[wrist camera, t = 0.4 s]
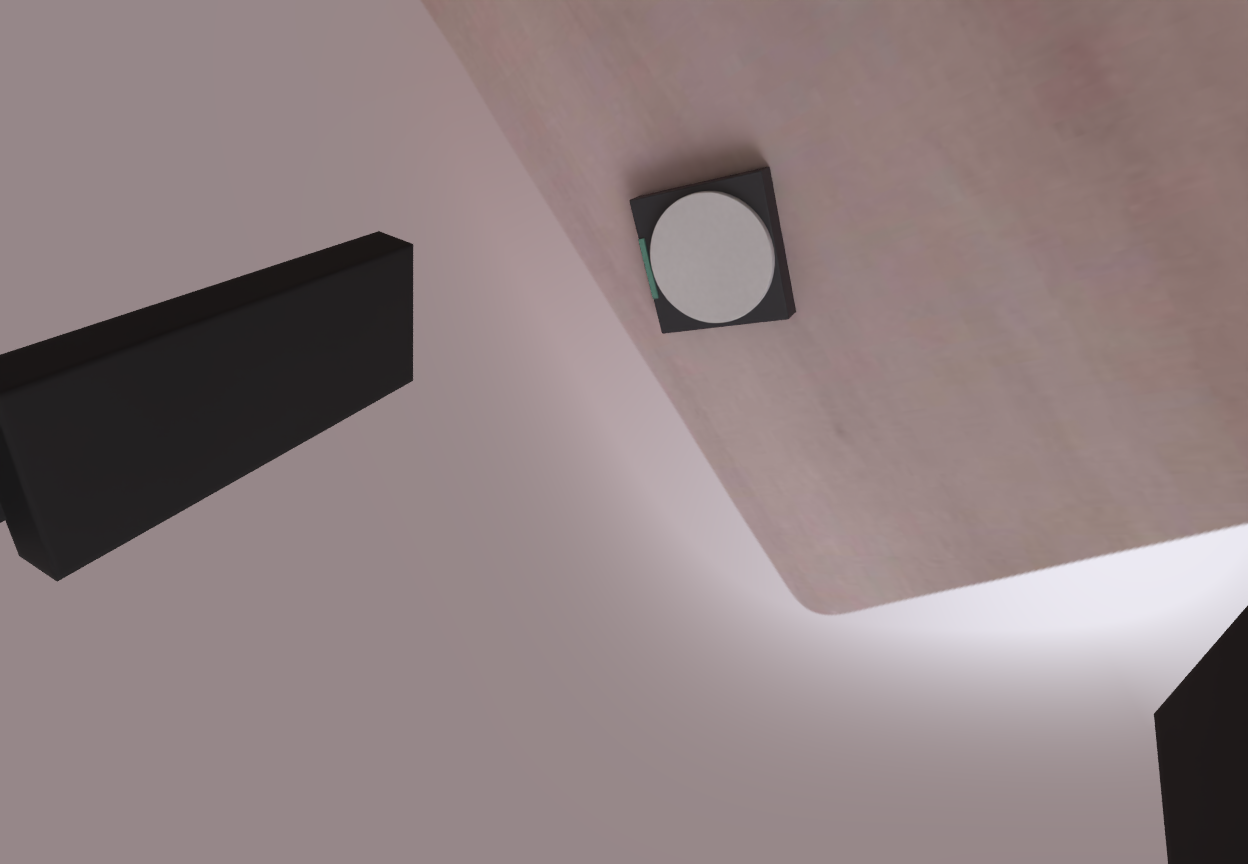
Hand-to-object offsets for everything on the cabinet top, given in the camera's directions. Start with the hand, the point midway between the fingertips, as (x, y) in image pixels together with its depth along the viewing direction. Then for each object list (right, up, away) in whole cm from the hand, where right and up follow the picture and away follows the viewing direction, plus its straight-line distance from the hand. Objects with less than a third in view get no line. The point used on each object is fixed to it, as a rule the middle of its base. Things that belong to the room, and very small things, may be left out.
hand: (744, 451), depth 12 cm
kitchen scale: (+4, +12, +38) cm, 40 cm away
